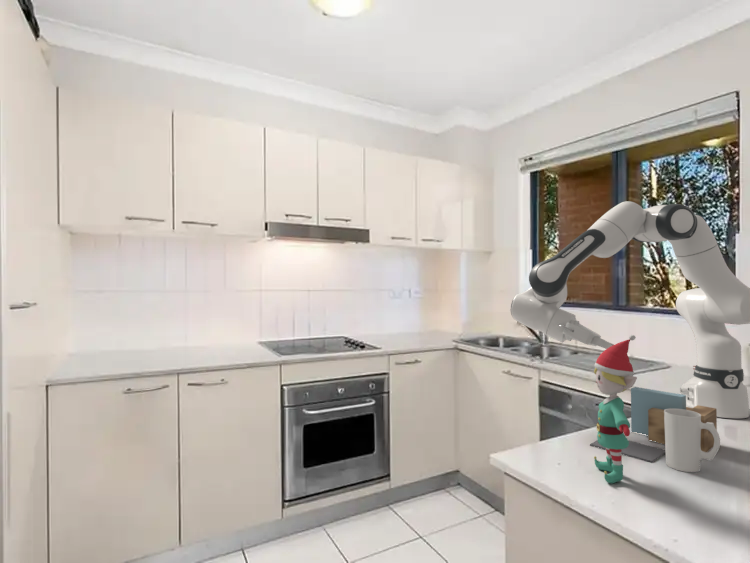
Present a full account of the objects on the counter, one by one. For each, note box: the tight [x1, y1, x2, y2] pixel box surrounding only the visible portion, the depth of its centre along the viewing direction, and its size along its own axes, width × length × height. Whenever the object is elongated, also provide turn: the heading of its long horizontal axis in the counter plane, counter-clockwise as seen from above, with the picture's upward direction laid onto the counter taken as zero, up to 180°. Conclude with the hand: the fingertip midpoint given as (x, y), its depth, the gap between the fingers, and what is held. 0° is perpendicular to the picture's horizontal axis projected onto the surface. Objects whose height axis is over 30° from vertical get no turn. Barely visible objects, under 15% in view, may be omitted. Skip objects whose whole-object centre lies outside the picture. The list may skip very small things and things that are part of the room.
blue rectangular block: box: [630, 386, 686, 435], centre depth 118 cm, size 12×3×12 cm, turn 39°
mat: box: [589, 440, 666, 463], centre depth 109 cm, size 14×10×1 cm
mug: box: [664, 409, 721, 473], centre depth 97 cm, size 10×7×12 cm, turn 45°
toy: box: [593, 334, 638, 484], centre depth 94 cm, size 17×8×30 cm, turn 167°
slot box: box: [647, 405, 718, 452], centre depth 113 cm, size 12×10×9 cm
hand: (612, 347), depth 122 cm, fingers open, 8 cm apart
